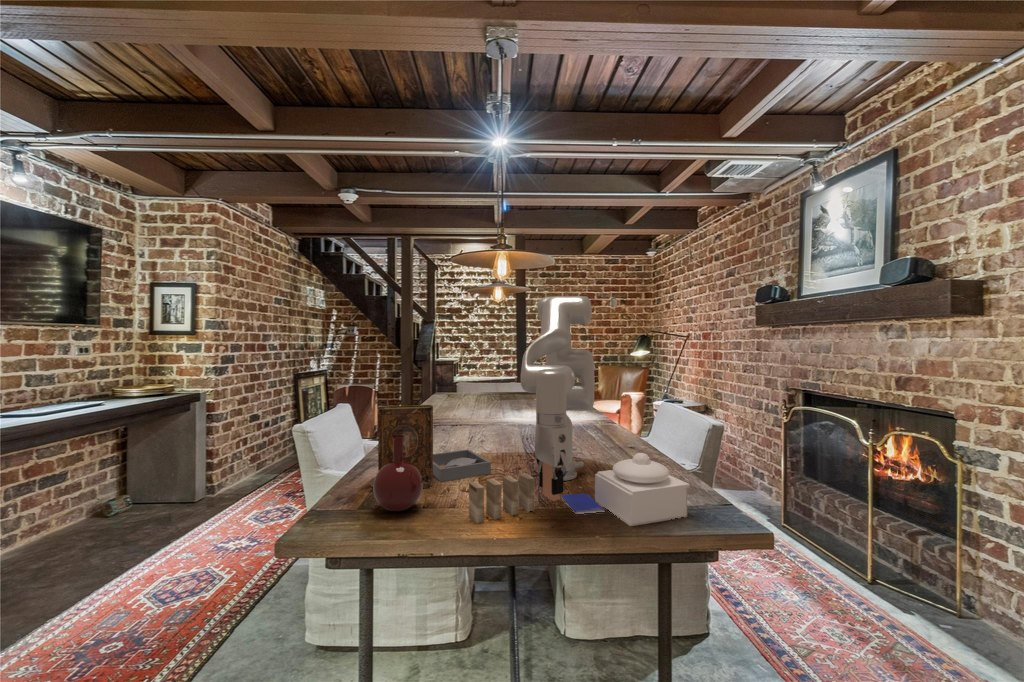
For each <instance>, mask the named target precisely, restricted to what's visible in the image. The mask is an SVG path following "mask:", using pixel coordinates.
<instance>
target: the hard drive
mask: <svg viewBox="0 0 1024 682" xmlns="http://www.w3.org/2000/svg"><path fill="white" fill-rule="evenodd" d="M561 498H562V499H563V500H564V501H565V502H566V503H565V502H564V501H563V500H562V499H561ZM560 499H561V500H562V501H563V502H564V503H565V504H567V505H568V506H569V507H570V508H571V509H572V510H573V511H572V510H571V509H570V508H569V507H568V506H567V505H566V506H567V507H568V508H569V509H570V510H571V511H572V512H574V513H575V514H584V513H596V512H605V510H606V509H605V508H603V507H602V506H600V505H599V504H598V503H597V502H596V501H595V498H594V499H593V498H592V497H591V496H590V495H589V494H588V493H574V494H562V495H560ZM574 513H573V514H574ZM605 513H606V512H605ZM575 514H574V515H575ZM596 514H597V513H596ZM584 515H585V514H584Z"/></svg>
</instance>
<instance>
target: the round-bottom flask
mask: <svg viewBox="0 0 1024 682" xmlns="http://www.w3.org/2000/svg"><path fill="white" fill-rule="evenodd" d="M392 438H393V461H392V462H390V463H388V464H386V465H384V466H383V467H382V468H381V469H380V470H379V471H377V473H376V475H375V477H374V479H373V483H372V487H373V488H372V490H373V491H372V493H373V496H374V498H375V500H376V502H377V503H378V505H380V507H381V508H384V509H385V510H386V511H390V512H402V511H405V510H408V509H410V508H411V507H413V506H414V505H415V504H416V503H417V502H418V500H419V499H420V497H421V495H422V493H423V490H424V489H423V479H422V476H421V473H420V471H419V470H418V469H417V467H416V466H414V465H413V464H412V463H410V462H407V461H403V438H404V436H402V435H396V436H393V437H392Z"/></svg>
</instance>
